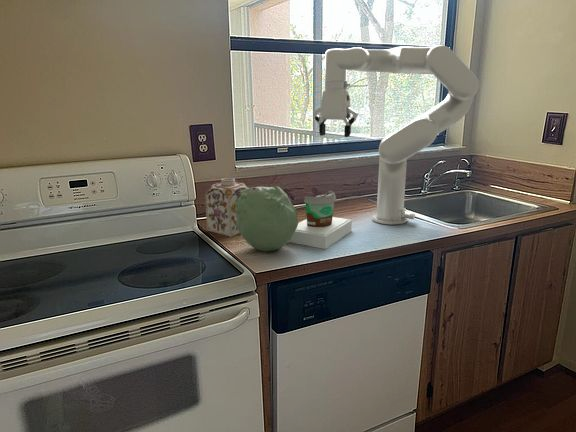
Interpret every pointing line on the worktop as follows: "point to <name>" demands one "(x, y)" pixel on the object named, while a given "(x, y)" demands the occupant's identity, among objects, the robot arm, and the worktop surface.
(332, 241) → the base
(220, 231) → the decorative jar
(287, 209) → the cabbage
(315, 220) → the food container
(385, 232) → the worktop surface
